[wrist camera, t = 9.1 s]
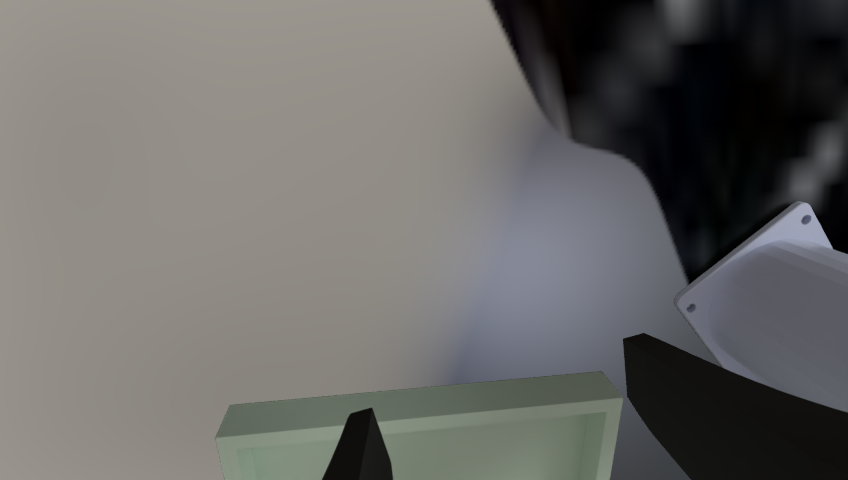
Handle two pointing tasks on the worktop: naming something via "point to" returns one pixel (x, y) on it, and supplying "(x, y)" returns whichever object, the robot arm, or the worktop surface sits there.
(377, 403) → the tray
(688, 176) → the worktop surface
